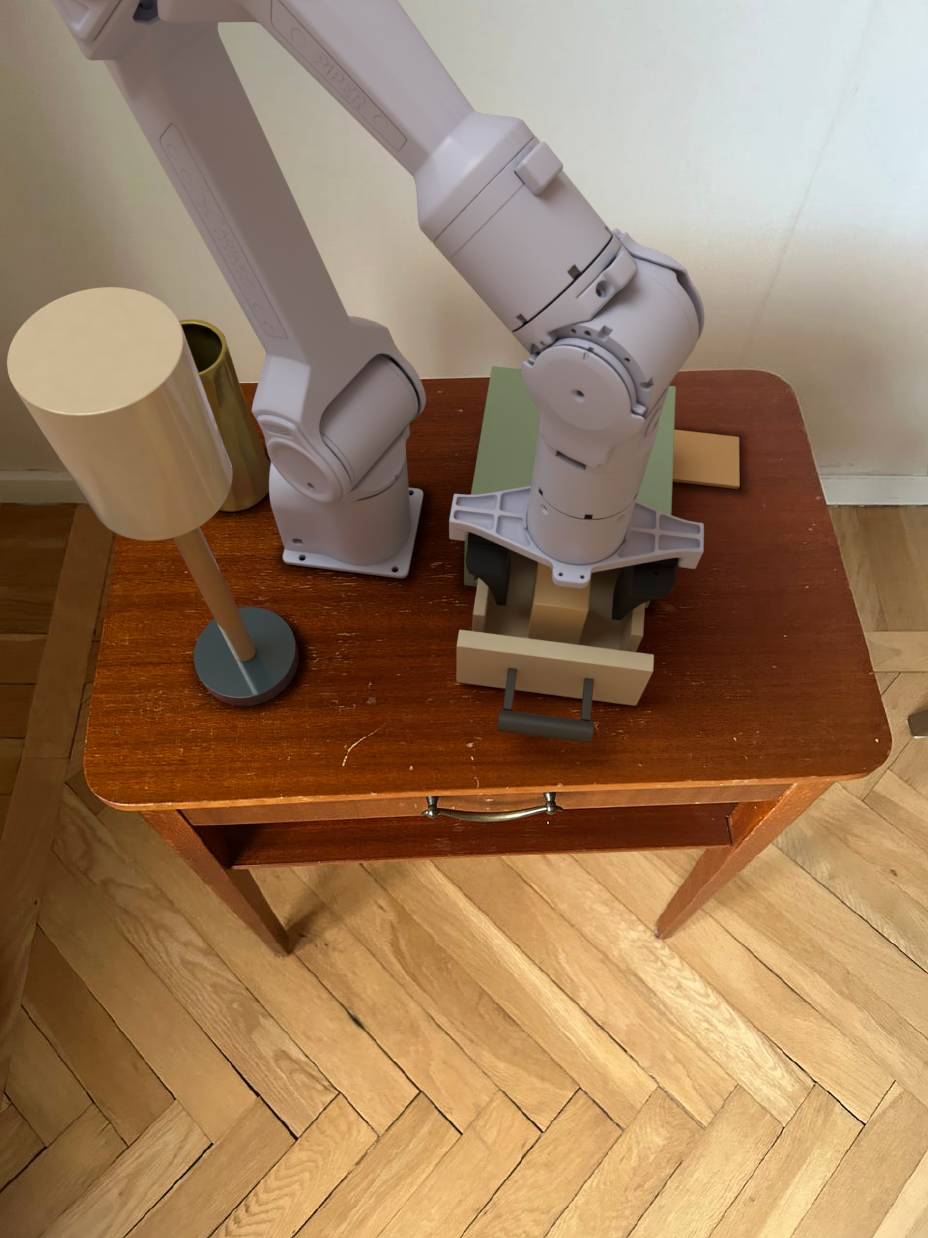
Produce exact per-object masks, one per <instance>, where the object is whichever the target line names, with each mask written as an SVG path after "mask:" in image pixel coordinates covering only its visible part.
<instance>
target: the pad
mask: <svg viewBox="0 0 928 1238" xmlns="http://www.w3.org/2000/svg"><path fill="white" fill-rule="evenodd" d="M740 477H741V475H740V437H739V436H736V435H735V436H733V435H725V434H716V433H710V432H709V433H708V432H699V431H691V430H684V429H683V430H682V429H674V453H673V483H683V484H691V485H699V486H708V487H717V488H725V489H734V490H739V488H740V487H741V485H740V484H741V483H740Z"/></svg>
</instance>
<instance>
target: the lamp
mask: <svg viewBox="0 0 928 1238" xmlns="http://www.w3.org/2000/svg"><path fill="white" fill-rule="evenodd" d="M6 368H7V374H8V377H9V381H10V383H11V384H12V387H13V388H14V390H15V391H16V393H17V395H18V397H20V399H21V401H22V402H23V404H24V406H25V407H26V409H27V410H28V412H29V414H30V415H31V417H32V418H33V419H34V422H35V423H36V424H37V426H38V427H39V429H40V431H41V432H42V434H43V435H44V437H45V438H46V440H47V441H48V443H49V445H50V446H51V448H52V449H53V451H54V452H55V454H56V456H57V457H58V459H59V460H60V462H61V464H62V465H63V466H64V468H65V470H66V471H67V473H68V475H69V476H70V478H71V479H72V481H73V483H74V484H75V485H76V487H77V488H78V490H79V492H80V493H81V495H82V496H83V498H84V499H85V501H86V503H87V504H88V506H89V508H90V509H91V511H92V512H93V514H94V515H95V517H96V518H97V519H98V520H99V522H100V523H102V525H104V526H105V527H106V528H107V529H108V530H109V531H112V532H113V533H115V534H117V535H118V536H119V535H120V536H122V537H125V538H128V539H132V540H136V541H147V542H153V541H164V540H170V539H172V541H173V543H174V544H175V546H176V548H177V550H178V553H179V554H180V556H181V557H182V560H183V562H184V564H185V565H186V568H187V569H188V571H189V573H190V575H191V577H192V580H193V581H194V583H195V584H196V586H197V589H198V590H199V592H200V594H201V596H202V598H203V600H204V601H205V604H206V605H207V607H208V609H209V612H210V613H211V615H212V618H213V619H212V620H211V621H210V622H209V623H208V624H207V625H206V626H205V627H204V628H203V630H202V632H201V633H200V635H199V637H198V638H197V640H196V643H195V647H194V650H193V665H194V669H195V671H196V675H197V676H198V678H199V680H200V681H201V683H202V684H203V686H204V688H205V689H206V690H207V691H208V692H209V694H211V695H212V697H214V698H215V699H217V700H218V701H221V702H222V703H225V704H227V705H232V706H236V707H250V706H256V705H259V704H264V703H266V702H268V701H270V700H272V699H274V698H276V697H277V696H278V695H280V694H281V693H282V692H283V691H284V690H285V689H287V687H288V686H289V685H290V683H291V682H292V681H293V679H294V677H295V675H296V673H297V670H298V667H299V660H300V659H299V658H300V653H299V648H298V644H297V641H296V638H295V635H294V633H293V630H292V628H291V627H290V625H289V624H288V622H286V620H285V619H284V618H283V617H281V616H280V615H279V614H277V613H276V612H274V611H272V610H269V609H266V608H262V607H258V606H243V607H238V605H237V603H236V601H235V598H234V596H233V594H232V592H231V589H230V587H229V585H228V583H227V581H226V578H225V577H224V575H223V572H222V570H221V568H220V566H219V564H218V561H217V559H216V556H215V555H214V553H213V551H212V548H211V546H210V544H209V542H208V540H207V537H206V535H205V534H204V531H203V529H202V527H201V526H203V525H204V524H205V523H207V522H208V521H209V520H210V519H212V518H213V517H214V516H215V515H216V514H217V513H218V511H220V510H219V509H220V507H221V506H222V505H223V503H224V502H225V500H226V498H227V496H228V493H229V491H230V488H231V484H232V475H233V473H232V465H231V461H230V458H229V455H228V452H227V450H226V447H225V444H224V441H223V439H222V436H221V433H220V430H219V428H218V425H217V422H216V419H215V417H214V414H213V411H212V408H211V406H210V403H209V400H208V397H207V395H206V392H205V389H204V386H203V383H202V381H201V378H200V375H199V372H198V370H197V367H196V364H195V361H194V359H193V356H192V353H191V350H190V348H189V345H188V342H187V339H186V337H185V334H184V331H183V328H182V326H181V323H180V319H179V318H178V316H177V315H176V313H175V311H173V309H171V308H170V306H169V305H167V304H166V303H165V302H164V301H162V300H161V299H159V298H157V297H156V296H154V295H152V294H149V293H147V292H144V291H141V290H137V289H134V288H130V287H129V288H128V287H120V286H119V287H118V286H106V287H105V286H104V287H103V286H101V287H93V288H86V289H83V290H78V291H75V292H72V293H69V294H66V295H64V296H60V297H59V298H57V299H55V300H53V301H51V302H48V303H47V304H46V305H44V306H42V307H41V308H40V309H38V310H37V311H36V312H34V313H33V314H31V316H29V318H28V319H26V321H24V322H23V324H22V325H21V326H20V328H19V329H18V330H17V331H16V333H15V335H14V337H12V341H11V343H10V344H9V348H8V351H7V358H6Z"/></svg>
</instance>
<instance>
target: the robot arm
mask: <svg viewBox="0 0 928 1238" xmlns="http://www.w3.org/2000/svg"><path fill="white" fill-rule="evenodd" d="M50 2H51V3H52V5H53V6H54V8H55V10H56V11H57V13H58V15H59V17H60V19H61V20H62V22H63V24H64V25H65V26H66V28H67V29H68V31H69V33H70V35H71V36H72V38H73V40H74V41H75V43H76V45H77V47H78V49H79V50H80V52H81V54H82V55H83V56H84V58H85V59H87V60H89V61H102V62H103V63H104V65H105V67H106V69H107V70H108V72H109V74H110V76H111V77H112V80H113V81H114V84H115V86H117V89H118V90H119V92H120V94H121V96H122V98H123V99H124V101H125V103H126V105H127V106H128V108H129V111H131V114H132V116H133V117H134V119H135V120H136V122H137V124H138V126H139V128H140V129H141V131H142V133H143V135H144V137H145V139H146V141H147V143H148V144H149V146H150V147H151V149H152V151H153V153H154V154H155V157H156V159H157V160H158V162H159V164H160V165H161V167H162V169H163V171H164V172H165V174H166V176H167V178H168V179H169V181H170V183H171V185H172V187H173V188H174V190H175V192H176V194H177V196H178V197H179V199H180V202H181V203H182V205H183V206H184V208H185V210H186V211H187V214H188V216H189V217H190V219H191V220H192V223H193V225H194V227H195V228H196V230H197V232H198V233H199V235H200V237H201V239H202V241H203V242H204V244H205V246H206V247H207V249H208V252H209V253H210V255H211V257H212V258H213V261H214V262H215V264H216V266H217V267H218V269H219V271H220V273H221V274H222V277H223V278H224V280H225V281H226V284H227V285H228V287H229V289H230V291H231V292H232V294H233V296H234V298H235V300H236V301H237V304H238V305H239V306H240V309H241V310H242V313H243V314H244V316H245V318H246V319H247V321H248V323H249V325H250V326H251V328H252V330H253V332H254V334H255V335H256V337H257V339H258V341H259V342H260V345H261V346H262V348H263V350H264V351H265V355H264V356H265V357H264V361H263V365H262V369H261V372H260V376H259V380H258V383H257V387H256V390H255V393H254V397H253V401H252V406H251V414H252V416H254V418H255V420H256V422H257V424H258V425H259V427H260V430H261V432H262V434H263V437H264V442H265V446H266V450H267V455H268V458H269V461H270V464H271V466H270V474H269V492H268V494H269V495H268V496H269V502H270V503H269V504H270V507H271V510H272V513H273V516H274V520H275V523H276V526H277V530H278V532H279V536H280V538H281V542H282V545H283V549H284V550H283V553H282V560H283V563H284V564H286V565H292V566H298V567H299V566H300V567H306V568H307V567H309V568H316V569H324V570H332V571H339V572H347V573H355V574H363V575H370V576H378V577H379V576H380V577H387V578H395V579H406V578H407V577H408V576H409V572H410V567H411V562H412V557H413V552H414V547H415V542H416V536H417V533H418V528H419V522H420V516H421V512H422V507H423V501H424V492H423V490H422V489H420V488H415V487H409V485H410V484H409V476H408V475H409V473H408V464H407V463H408V462H407V461H408V460H407V447H406V445H407V444H406V443H407V440H408V439H409V437H410V436H411V429H410V423H411V421H414V420H416V419H417V418H418V417H419V416H420V415H421V414H422V413H423V411H424V410H425V407H426V403H427V396H426V395H427V394H426V391H425V387H424V385H423V382H422V380H421V378H420V375H419V373H418V372H417V370H416V369H415V367H414V365H412V363H411V362H410V361H409V360H408V359H407V358H406V357H405V356H404V355H403V353H402V352H401V351H400V349H399V348H398V346H397V345H396V343H395V341H394V339H393V336H392V334H391V332H390V329H389V328H388V327H387V326H385V325H384V324H381V323H379V322H377V321H374V320H371V319H368V318H366V317H361V316H354V315H348V312H347V310H346V308H345V306H344V304H343V301H342V299H341V297H340V295H339V292H338V290H337V288H336V285H335V284H334V281H333V279H332V277H331V276H330V274H329V271H328V269H327V266H326V265H325V263H324V260H323V258H322V255H321V254H320V251H319V249H318V247H317V244H316V242H315V240H314V238H313V236H312V234H311V232H310V230H309V228H308V226H307V223H306V221H305V219H304V217H303V215H302V212H301V210H300V208H299V206H298V204H297V202H296V199H295V197H294V194H293V192H292V191H291V188H290V186H289V183H288V182H287V180H286V177H285V175H284V173H283V171H282V168H281V167H280V165H279V162H278V160H277V158H276V155H275V153H274V151H273V150H272V147H271V144H270V143H269V141H268V139H267V136H266V133H265V131H264V130H263V128H262V125H261V123H260V120H259V118H258V116H257V114H256V112H255V110H254V107H253V105H252V103H251V102H250V98H249V97H248V95H247V93H246V91H245V89H244V86H243V84H242V82H241V80H240V77H239V75H238V72H237V71H236V69H235V66H234V64H233V62H232V60H231V58H230V56H229V53H228V51H227V49H226V46H225V44H224V43H223V41H222V38H221V36H220V33H219V23H256V24H259V25H260V26H261V27H262V28H263V29H264V30H265V31H266V32H267V33H268V34H269V35H270V36H271V37H272V38H273V39H274V40H275V41H276V42H277V43H278V44H279V45H280V46H281V47H282V48H283V49H285V50H286V52H287V53H288V54H290V56H291V57H293V59H294V60H295V61H296V62H298V64H299V65H300V66H301V67H302V68H303V69H305V71H306V72H307V73H308V74H309V75H310V76H311V77H312V78H313V79H315V81H316V82H317V83H319V84H320V85H321V87H322V88H324V89H325V90H326V91H327V93H328V94H330V95H331V97H333V99H334V100H336V101H337V103H339V105H340V106H341V107H343V109H345V110H346V112H347V113H348V114H349V115H350V116H352V118H353V119H354V120H356V121H357V123H359V125H361V126H362V127H363V128H364V130H365V131H367V133H369V134H370V135H371V137H373V138H374V139H375V141H377V143H378V144H379V145H381V146H382V148H384V149H385V151H387V152H388V153H389V154H390V155H391V156H392V157H393V159H395V160H396V162H398V163H399V164H400V166H402V167H403V168H404V169H405V170H406V171H407V172H408V173H409V175H411V176H412V178H413V181H414V184H415V192H416V207H417V209H416V210H417V222H418V227H419V229H420V231H421V232H422V233H423V234H424V235H425V237H426V238H427V239H428V240H429V241H430V242H431V243H432V245H433V246H434V247H435V248H436V249H437V250H438V252H439V253H440V254H441V255H442V256H443V257H444V258H445V259H446V260H447V262H449V264H450V265H451V266H452V267H453V268H454V269H455V271H456V272H457V273H458V274H459V275H460V276H461V277H462V278H463V279H464V280H465V282H466V283H467V284H468V285H469V286H470V287H471V289H473V291H474V293H476V294H477V295H478V297H479V298H480V299H481V300H482V301H483V302H484V304H486V306H487V307H488V308H489V309H490V310H491V311H492V312H493V314H494V315H495V316H496V317H497V318H498V320H499V321H501V323H502V324H503V325H504V326H505V327H506V328H507V330H508V331H510V333H511V334H512V336H514V338H515V339H516V340H517V341H518V342H519V343H520V345H521V346H522V347H523V349H525V350H526V351H527V353H528V354H529V355H530V356H529V357H528V359H527V360H522V361H521V369H522V376H523V380H524V383H525V386H526V389H527V391H528V393H529V395H530V397H531V398H532V400H533V402H534V403H535V405H536V407H537V408H538V411H539V414H540V422H539V430H538V438H537V445H536V453H535V461H534V468H533V475H532V483H531V486H527V487H521V488H515V489H509V490H504V491H498V492H492V493H486V494H478V495H471V494H465V493H463V494H462V493H454V494H453V496H452V501H451V508H450V514H449V519H448V524H449V525H448V535H449V539H450V540H453V541H454V540H455V541H463V542H465V540H467V539H468V544H467V553H466V566H467V570H468V572H469V574H471V575H474V576H476V577H478V578H479V579H481V580H482V581H483V582H484V583H485V584H486V585H487V586H488V588H489V589H490V591H491V593H492V595H493V597H494V599H495V602H496V604H497V605H501V606H506V602H507V594H508V587H509V579H510V570H511V564H510V550H513V551H515V552H517V553H519V554H521V555H524V556H526V557H528V558H530V559H533V560H535V561H537V562H539V563H541V564H544V565H546V566H548V567H550V568H551V569H552V580H553V582H554V583H555V584H556V585H558V586H563V587H571V588H579V589H580V588H585V587H586V586H588V584H589V581H590V577H591V574H592V573H593V572H598V571H604V570H609V569H615V568H620V567H622V569H621V571H620V573H619V576H618V578H617V581H616V584H615V588H614V592H613V604H612V619H613V620H622V619H623V618H624V617H625V616H626V615H627V614H628V613H630V612H631V611H632V610H633V609H635V608H636V607H638V606H639V605H641V604H643V603H645V602H648V601H650V602H651V601H654V600H659V599H667V598H668V597H669V596H670V594H671V593H672V592H673V589H674V587H675V585H676V578H677V577H676V576H677V573H676V572H677V566H678V567H679V568H685V569H693V570H695V569H696V568H697V566H698V564H699V562H700V560H701V558H702V556H703V553H704V551H705V549H704V547H705V546H704V545H705V524H704V523H703V522H697V521H691V520H688V519H683V518H681V517H678V516H675V515H672V514H671V515H669V514H667V513H665V512H662V511H660V510H657V509H655V508H653V507H650V506H648V505H646V504H643V503H641V502H639V501H636V499H637V496H638V493H639V490H640V487H641V484H642V480H643V477H644V474H645V471H646V468H647V464H648V461H649V458H650V455H651V452H652V448H653V445H654V442H655V439H656V436H657V432H658V426H659V419H660V416H661V412H662V409H663V406H664V402H665V399H666V396H667V393H668V389H669V386H670V384H671V382H672V381H674V379H675V377H676V376H677V375H678V373H679V371H680V370H681V368H682V367H683V366H684V364H685V363H686V361H687V360H688V359H689V357H690V356H691V354H692V353H693V352H694V350H695V347H696V345H697V343H698V341H699V340H700V338H701V336H702V334H703V330H704V327H705V309H704V305H703V301H702V298H701V296H700V293H699V291H698V289H697V287H696V285H695V284H694V283H693V281H692V280H691V278H690V275H689V273H688V270H687V269H686V267H685V266H684V265H682V264H681V263H679V262H678V261H677V260H676V259H674V258H673V257H671V256H670V255H668V254H666V253H664V252H662V251H660V250H657V249H655V248H651V247H647V246H644V245H641V244H640V243H638V242H636V240H634V239H633V238H632V236H631V235H630V234H629V233H628V232H627V231H625V232H624V233H623V232H622V231H621V230H620V229H619V228H617V227H616V228H614V229H612V230H611V228H610V227H609V226H608V224H606V222H605V221H604V220H603V219H602V217H601V216H600V214H599V213H598V212H597V211H596V210H595V209H594V207H593V206H592V205H591V204H590V202H589V200H588V199H586V197H585V196H584V195H583V194H582V192H581V191H580V189H579V188H578V187H577V186H576V185H575V183H574V182H573V181H572V180H571V179H570V177H569V176H568V174H567V173H566V172H565V171H564V164H563V162H562V161H561V159H559V157H558V156H557V154H556V153H555V152H554V151H553V150H552V148H551V147H550V146H549V144H547V142H546V141H541V140H540V139H539V138H538V137H537V136H536V135H535V134H534V132H533V130H531V129H530V127H529V126H528V124H527V123H526V122H525V121H524V120H523V119H521V118H519V117H515V116H507V115H500V114H499V115H498V114H491V113H483V112H480V111H477V110H475V109H474V107H473V106H472V105H471V102H470V101H469V100H468V98H467V97H466V96H465V94H464V93H463V91H461V90H462V89H460V87H459V86H458V84H457V83H456V82H455V80H454V79H453V78H452V76H451V74H450V73H449V71H448V70H447V68H446V67H445V66H444V64H443V63H442V62H441V60H440V59H439V57H438V56H437V54H436V53H435V52H434V50H433V49H432V47H431V46H430V44H429V43H428V42H427V40H426V39H425V38H424V36H423V34H422V33H421V31H420V30H419V29H418V28H417V26H416V25H415V23H414V22H413V20H412V19H411V17H410V16H409V14H408V13H407V11H406V10H405V9H404V7H403V6H402V4H401V3H400V2H399V1H398V0H50ZM410 494H411V495H410ZM302 558H303V559H304V560H302ZM394 570H397V571H396V572H395V571H394Z"/></svg>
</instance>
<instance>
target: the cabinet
mask: <svg viewBox="0 0 928 1238" xmlns="http://www.w3.org/2000/svg"><path fill="white" fill-rule="evenodd" d="M489 375H490V376H489V382H488V388H487V394H486V399H485V407H484V411H483V417H482V424H481V430H480V436H479V443H478V450H477V453H476V461H475V467H474V473H473V479H472V483H471V484H472V485H471V492H470V495H478V494H486V493H492V492H498V491H504V490H509V489H515V488H521V487H527V486H531V483H532V475H533V468H534V461H535V453H536V445H537V438H538V430H539V422H540V414H539V411H538V408H537V407H536V405H535V403H534V402H533V400H532V398H531V397H530V395H529V393H528V391H527V389H526V386H525V383H524V380H523V376H522V368H515V367H514V368H513V367H505V366H498V365H497V366H495V365H492V366H491V369H490V374H489ZM676 389H677V387H676V386H674V385H669V389H668V393H667V396H666V399H665V402H664V406H663V409H662V412H661V416H660V419H659V426H658V432H657V436H656V439H655V442H654V445H653V448H652V452H651V455H650V458H649V461H648V464H647V468H646V471H645V474H644V477H643V480H642V484H641V487H640V490H639V493H638V496H637V499H636V501H639V502H641V503H643V504H646V505H648V506H650V507H653V508H655V509H657V510H660V511H662V512H665V513H667V514H669V515H672V510H673V508H672V505H673V483H674V481H673V453H674V430H675V419H676V417H675V416H676V393H677V392H676V391H677V390H676ZM467 544H468V539H467V540H465V541H464V561H463V562H464V565H463V566H464V567H463V585H464V586H468V587H476V588H477V583H478V577H476V576H474V575H471V574H469V572H468V570H467V566H466V553H467ZM650 603H651V601H648V602H645V609H648V607H649V605H650Z"/></svg>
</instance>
